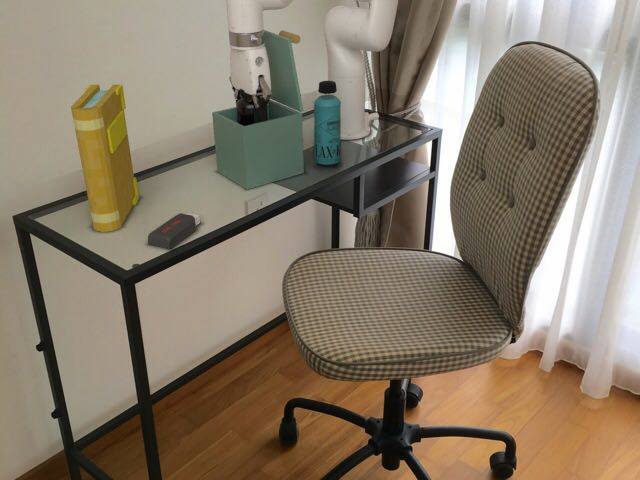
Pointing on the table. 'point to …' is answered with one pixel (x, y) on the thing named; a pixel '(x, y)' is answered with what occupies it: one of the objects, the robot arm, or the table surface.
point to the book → (105, 155)
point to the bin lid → (283, 68)
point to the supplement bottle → (245, 108)
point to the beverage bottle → (327, 125)
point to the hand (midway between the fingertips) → (252, 119)
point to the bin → (259, 146)
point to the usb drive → (174, 230)
